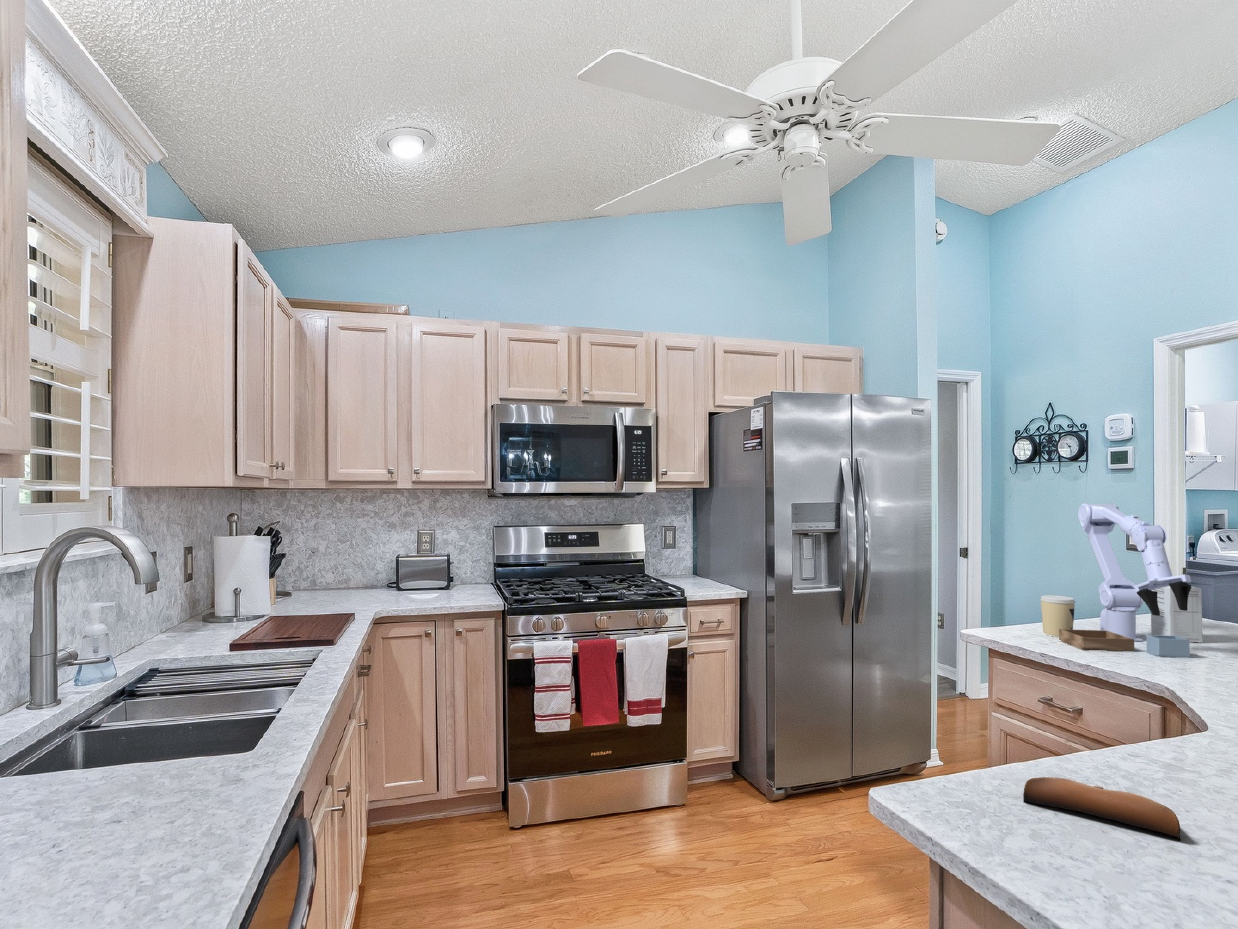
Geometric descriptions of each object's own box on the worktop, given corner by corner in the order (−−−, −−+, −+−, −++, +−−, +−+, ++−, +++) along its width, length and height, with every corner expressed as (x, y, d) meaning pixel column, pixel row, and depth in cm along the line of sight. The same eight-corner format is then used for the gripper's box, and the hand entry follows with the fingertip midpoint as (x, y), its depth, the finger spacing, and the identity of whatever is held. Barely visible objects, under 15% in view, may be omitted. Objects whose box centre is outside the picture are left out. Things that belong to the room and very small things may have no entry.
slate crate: (1146, 652, 195) (1146, 635, 195) (1176, 653, 194) (1175, 635, 194) (1159, 657, 190) (1159, 638, 190) (1189, 658, 189) (1189, 639, 189)
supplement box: (1182, 636, 217) (1181, 583, 217) (1203, 643, 208) (1203, 587, 208) (1149, 635, 218) (1149, 582, 218) (1170, 642, 209) (1169, 587, 209)
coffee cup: (1079, 640, 210) (1079, 600, 210) (1044, 637, 213) (1044, 598, 213) (1070, 633, 219) (1070, 596, 219) (1036, 631, 222) (1036, 594, 222)
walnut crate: (1059, 640, 208) (1059, 629, 208) (1107, 642, 207) (1107, 630, 207) (1083, 650, 196) (1083, 638, 196) (1134, 651, 195) (1134, 639, 195)
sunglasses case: (1176, 817, 96) (1178, 784, 94) (1180, 861, 91) (1182, 828, 88) (1028, 783, 107) (1025, 752, 104) (1024, 821, 102) (1021, 790, 99)
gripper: (1122, 569, 203) (1134, 615, 197) (1171, 557, 190) (1185, 606, 184) (1140, 572, 204) (1152, 618, 199) (1190, 560, 192) (1204, 609, 186)
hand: (1169, 612), depth 192 cm, fingers open, 7 cm apart
